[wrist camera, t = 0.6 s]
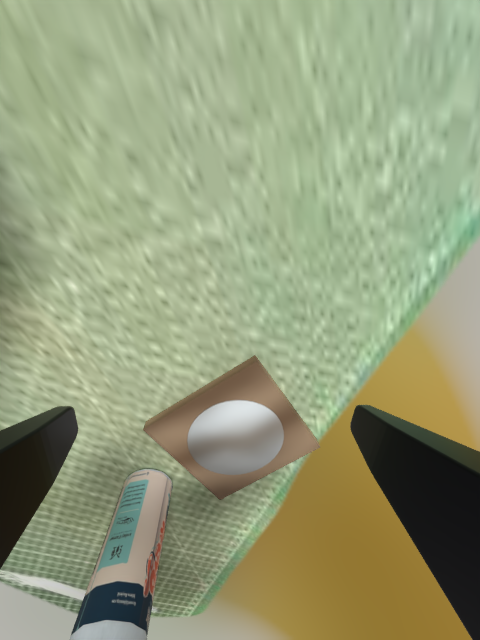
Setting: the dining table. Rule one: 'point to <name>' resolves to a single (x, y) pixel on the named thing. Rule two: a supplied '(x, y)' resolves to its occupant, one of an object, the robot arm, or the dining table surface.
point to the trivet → (233, 430)
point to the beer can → (127, 562)
